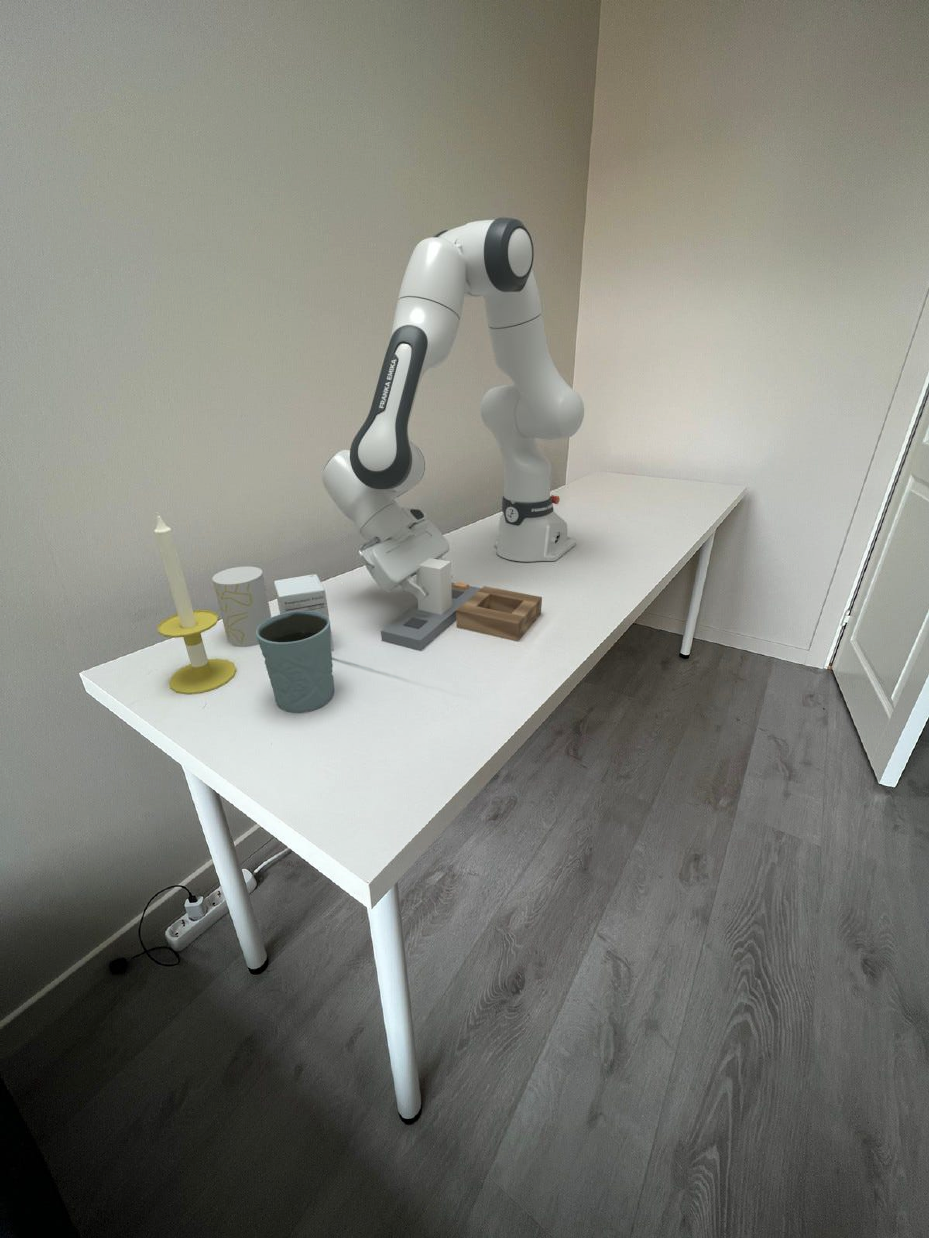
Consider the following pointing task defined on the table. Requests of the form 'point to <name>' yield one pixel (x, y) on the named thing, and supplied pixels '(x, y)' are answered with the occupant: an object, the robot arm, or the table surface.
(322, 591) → the supplement box
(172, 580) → the candle
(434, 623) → the power strip
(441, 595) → the white rectangular block
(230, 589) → the cup
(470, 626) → the square wooden tray
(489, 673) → the table surface
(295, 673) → the teal plant pot
